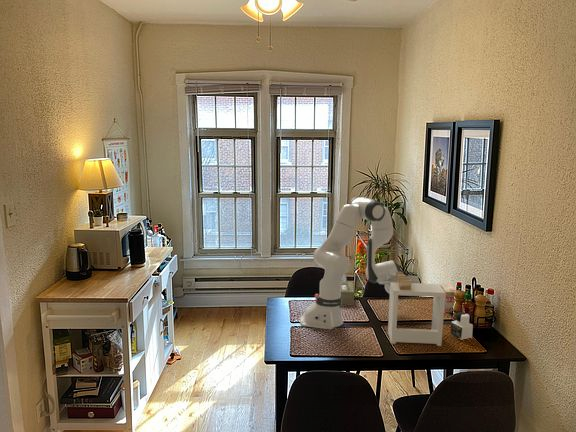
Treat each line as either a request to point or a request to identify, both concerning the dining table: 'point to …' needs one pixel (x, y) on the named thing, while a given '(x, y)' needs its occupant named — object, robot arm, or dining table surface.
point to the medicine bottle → (461, 326)
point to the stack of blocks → (448, 297)
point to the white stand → (417, 334)
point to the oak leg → (403, 281)
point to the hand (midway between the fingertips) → (400, 276)
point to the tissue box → (347, 292)
